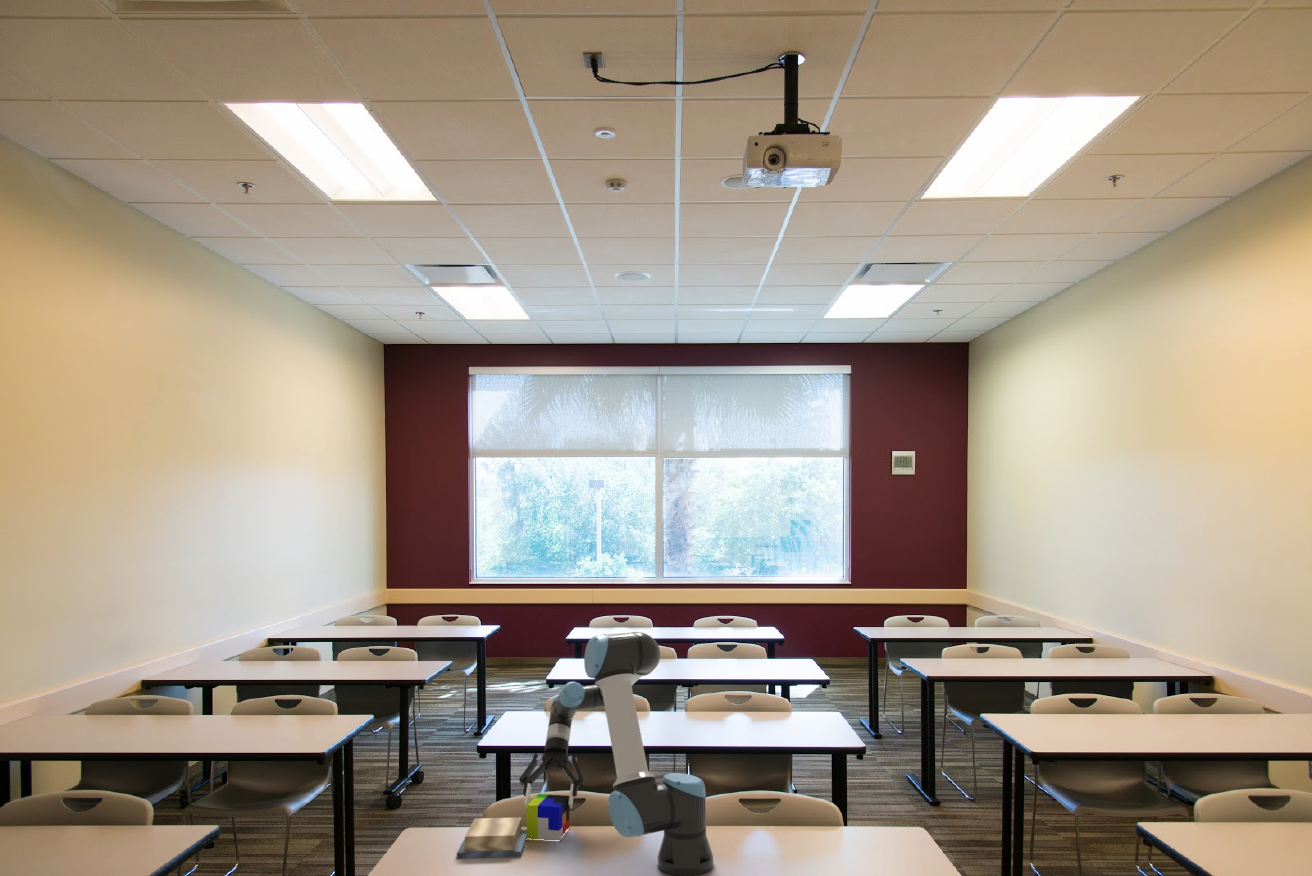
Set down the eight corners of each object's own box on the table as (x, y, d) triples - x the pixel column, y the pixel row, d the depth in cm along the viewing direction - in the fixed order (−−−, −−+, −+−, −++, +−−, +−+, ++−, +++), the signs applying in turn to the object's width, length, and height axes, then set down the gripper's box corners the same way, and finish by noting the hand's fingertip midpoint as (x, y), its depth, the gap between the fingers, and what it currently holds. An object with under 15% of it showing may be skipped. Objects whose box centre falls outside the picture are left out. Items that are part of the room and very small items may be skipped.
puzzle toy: (559, 842, 236) (559, 807, 237) (526, 840, 238) (527, 805, 239) (569, 829, 246) (569, 795, 247) (538, 827, 248) (538, 794, 249)
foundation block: (528, 835, 242) (528, 816, 242) (520, 857, 226) (520, 836, 226) (468, 836, 241) (468, 817, 242) (456, 858, 225) (456, 838, 226)
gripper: (596, 748, 263) (590, 812, 246) (521, 748, 264) (510, 811, 248) (594, 735, 258) (587, 800, 242) (517, 735, 260) (505, 799, 243)
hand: (548, 806), depth 245 cm, fingers open, 13 cm apart
